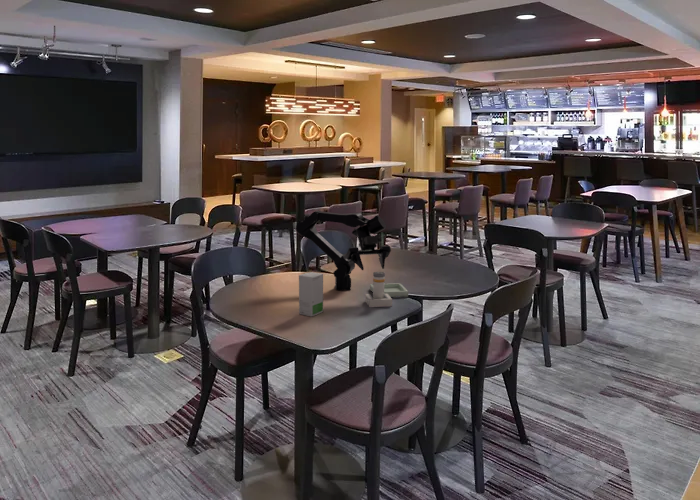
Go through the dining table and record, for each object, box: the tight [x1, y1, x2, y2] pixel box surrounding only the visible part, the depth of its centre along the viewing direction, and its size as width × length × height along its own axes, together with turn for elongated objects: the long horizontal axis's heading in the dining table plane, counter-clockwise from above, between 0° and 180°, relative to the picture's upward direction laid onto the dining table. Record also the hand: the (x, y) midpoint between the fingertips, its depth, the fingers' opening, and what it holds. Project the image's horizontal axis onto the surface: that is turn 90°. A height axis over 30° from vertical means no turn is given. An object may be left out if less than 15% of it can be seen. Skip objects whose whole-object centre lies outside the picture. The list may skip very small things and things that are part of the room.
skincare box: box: [298, 271, 324, 317], centre depth 225 cm, size 8×7×16 cm
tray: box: [369, 282, 409, 298], centre depth 256 cm, size 14×14×2 cm
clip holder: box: [364, 293, 393, 308], centre depth 240 cm, size 9×8×3 cm
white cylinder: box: [372, 271, 386, 299], centre depth 239 cm, size 5×5×13 cm
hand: (373, 269), depth 244 cm, fingers open, 9 cm apart
